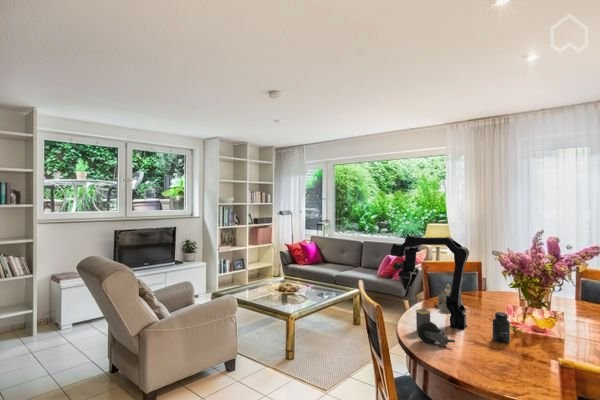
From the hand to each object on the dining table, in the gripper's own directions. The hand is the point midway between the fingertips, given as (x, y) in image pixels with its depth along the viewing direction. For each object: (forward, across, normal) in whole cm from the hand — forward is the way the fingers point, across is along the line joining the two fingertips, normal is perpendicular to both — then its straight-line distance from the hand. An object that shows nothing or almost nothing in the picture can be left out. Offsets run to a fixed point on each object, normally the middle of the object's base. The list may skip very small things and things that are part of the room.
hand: (407, 287), depth 189 cm
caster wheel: (+16, +27, +22) cm, 38 cm away
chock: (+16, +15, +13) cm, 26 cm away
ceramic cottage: (+14, -31, +16) cm, 37 cm away
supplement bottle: (+13, +8, +45) cm, 48 cm away
